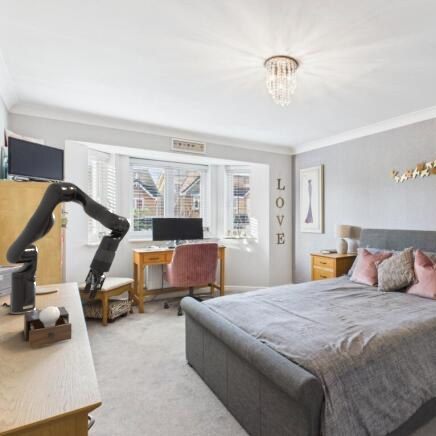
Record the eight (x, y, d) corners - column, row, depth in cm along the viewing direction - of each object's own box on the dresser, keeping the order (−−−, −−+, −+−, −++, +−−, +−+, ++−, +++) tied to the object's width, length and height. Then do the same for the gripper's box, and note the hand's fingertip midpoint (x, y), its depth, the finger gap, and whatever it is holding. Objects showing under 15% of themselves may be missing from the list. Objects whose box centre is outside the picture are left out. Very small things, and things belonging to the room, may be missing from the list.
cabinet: (68, 332, 129) (68, 313, 129) (25, 340, 120) (25, 321, 120) (64, 323, 140) (64, 306, 139) (23, 330, 130) (23, 312, 130)
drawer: (71, 339, 119) (71, 324, 119) (29, 348, 111) (29, 332, 111) (66, 329, 130) (66, 315, 130) (27, 337, 121) (27, 322, 121)
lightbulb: (63, 333, 123) (63, 305, 123) (45, 339, 117) (45, 309, 117) (53, 330, 125) (53, 303, 125) (35, 336, 120) (35, 307, 119)
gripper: (89, 254, 138) (74, 290, 135) (99, 260, 128) (83, 299, 126) (107, 258, 143) (92, 292, 141) (117, 264, 134) (102, 302, 131)
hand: (88, 296), depth 133 cm, fingers open, 8 cm apart
